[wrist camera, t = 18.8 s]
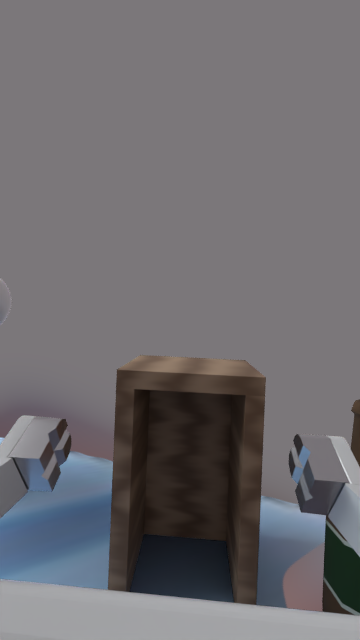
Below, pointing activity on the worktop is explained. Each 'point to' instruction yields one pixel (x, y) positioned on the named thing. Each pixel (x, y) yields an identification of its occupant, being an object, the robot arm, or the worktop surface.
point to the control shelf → (188, 461)
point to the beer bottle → (342, 555)
